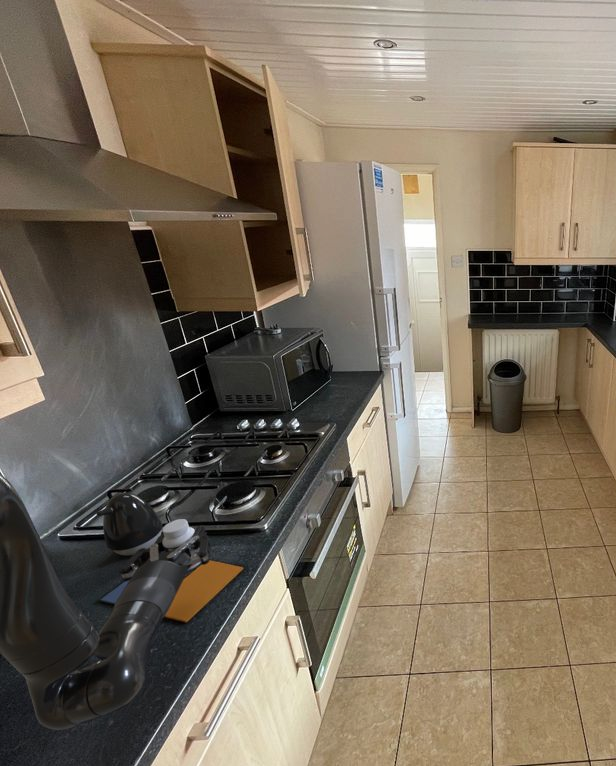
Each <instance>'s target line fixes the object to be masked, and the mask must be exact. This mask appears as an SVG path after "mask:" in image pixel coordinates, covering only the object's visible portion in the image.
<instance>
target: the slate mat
mask: <svg viewBox="0 0 616 766" xmlns="http://www.w3.org/2000/svg"><path fill="white" fill-rule="evenodd" d="M129 581H130V580H129ZM129 581H126V582H125V581H123V582H122V583H121V584H119V585H118V586H117V587H115V588H114V589H113V590H111V591H110V592H109V593H107V594H106V595H105V596H103V597H102V598H100V601H101V602H103V603H107V604H111V605H113V606H114V605H115V603H116V601H117V599H118V598H119V596H120V595H121V593H122V592H123V590H124V588H125V587H126V585H127V584H128V582H129Z"/></svg>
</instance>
